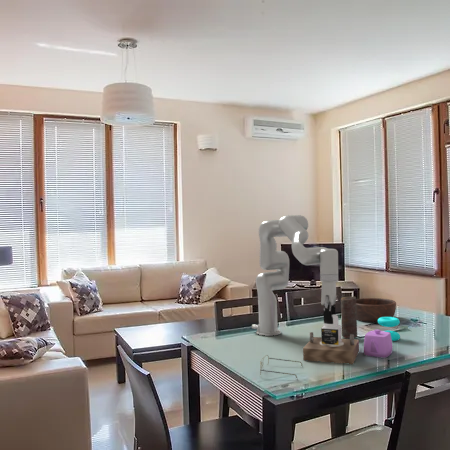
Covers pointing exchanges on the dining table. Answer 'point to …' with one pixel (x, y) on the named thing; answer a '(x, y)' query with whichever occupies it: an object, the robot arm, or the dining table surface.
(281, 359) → the eyeglasses
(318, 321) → the dining table surface
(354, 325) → the brown rusty cylinder
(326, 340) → the medicine bottle
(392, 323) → the donuts
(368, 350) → the teapot
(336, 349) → the stand
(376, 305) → the wooden bowl
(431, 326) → the dining table surface
